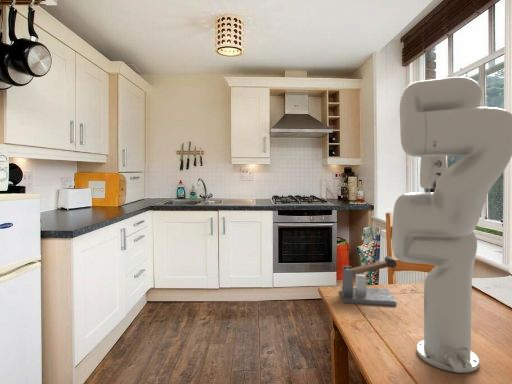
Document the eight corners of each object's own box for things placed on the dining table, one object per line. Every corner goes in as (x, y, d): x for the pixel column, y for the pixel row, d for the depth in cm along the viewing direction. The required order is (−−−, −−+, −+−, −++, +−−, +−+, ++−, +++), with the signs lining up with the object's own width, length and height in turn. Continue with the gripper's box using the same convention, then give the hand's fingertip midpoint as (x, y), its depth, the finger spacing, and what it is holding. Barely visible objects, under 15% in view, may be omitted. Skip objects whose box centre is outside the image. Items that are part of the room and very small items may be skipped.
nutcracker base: (396, 305, 105) (396, 274, 104) (343, 303, 108) (343, 272, 107) (388, 293, 116) (388, 264, 116) (340, 290, 120) (340, 263, 119)
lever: (397, 267, 107) (395, 259, 107) (346, 278, 110) (344, 270, 110) (393, 262, 113) (391, 255, 113) (344, 273, 116) (342, 265, 116)
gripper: (456, 149, 88) (455, 214, 89) (436, 153, 103) (435, 209, 103) (427, 149, 89) (427, 214, 90) (411, 153, 104) (411, 209, 105)
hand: (431, 211), depth 97 cm, fingers closed
